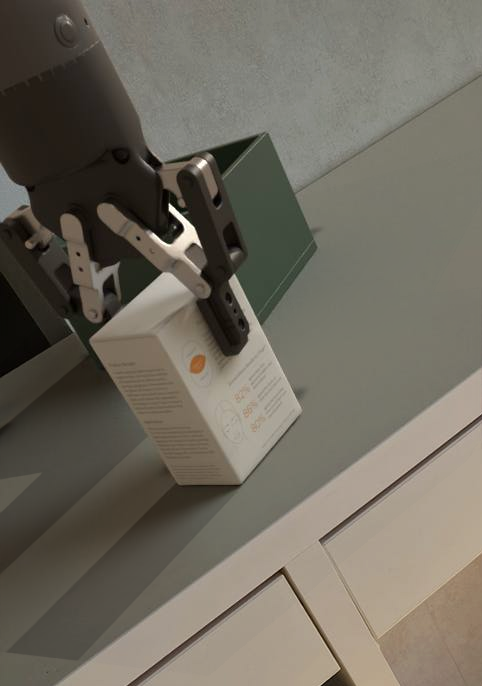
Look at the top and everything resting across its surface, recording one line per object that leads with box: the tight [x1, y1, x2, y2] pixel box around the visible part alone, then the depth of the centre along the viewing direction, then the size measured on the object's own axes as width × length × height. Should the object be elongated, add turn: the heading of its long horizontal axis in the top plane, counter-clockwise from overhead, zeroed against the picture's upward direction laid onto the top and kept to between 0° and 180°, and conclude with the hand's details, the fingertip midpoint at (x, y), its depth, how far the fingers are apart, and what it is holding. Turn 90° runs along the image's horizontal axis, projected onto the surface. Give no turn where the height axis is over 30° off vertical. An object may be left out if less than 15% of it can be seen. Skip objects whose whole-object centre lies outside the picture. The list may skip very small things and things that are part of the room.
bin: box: [53, 131, 319, 370], centre depth 85 cm, size 15×15×10 cm
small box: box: [89, 272, 303, 486], centre depth 64 cm, size 8×6×10 cm
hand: (191, 358), depth 63 cm, fingers closed on small box, 6 cm apart
